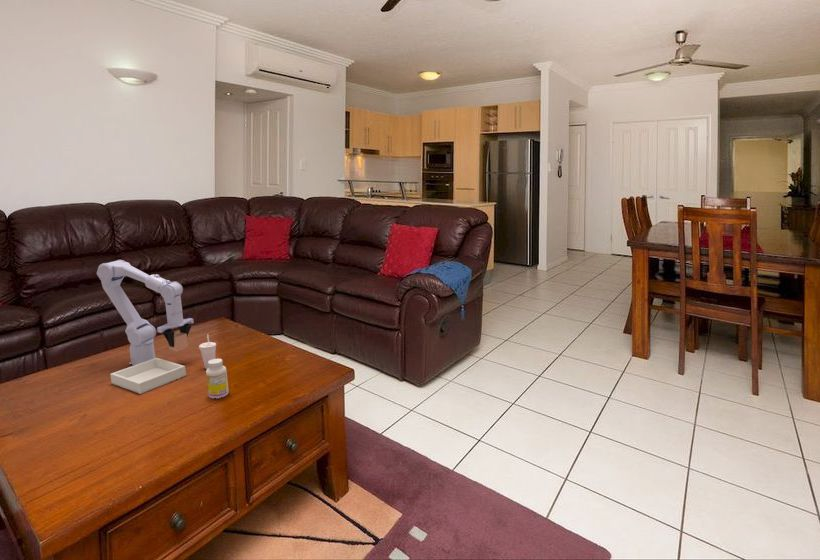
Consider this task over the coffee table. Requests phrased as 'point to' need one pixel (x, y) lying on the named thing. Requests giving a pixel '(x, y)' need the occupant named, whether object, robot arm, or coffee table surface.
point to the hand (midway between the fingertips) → (178, 344)
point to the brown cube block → (179, 341)
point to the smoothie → (207, 351)
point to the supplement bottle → (216, 379)
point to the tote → (148, 375)
